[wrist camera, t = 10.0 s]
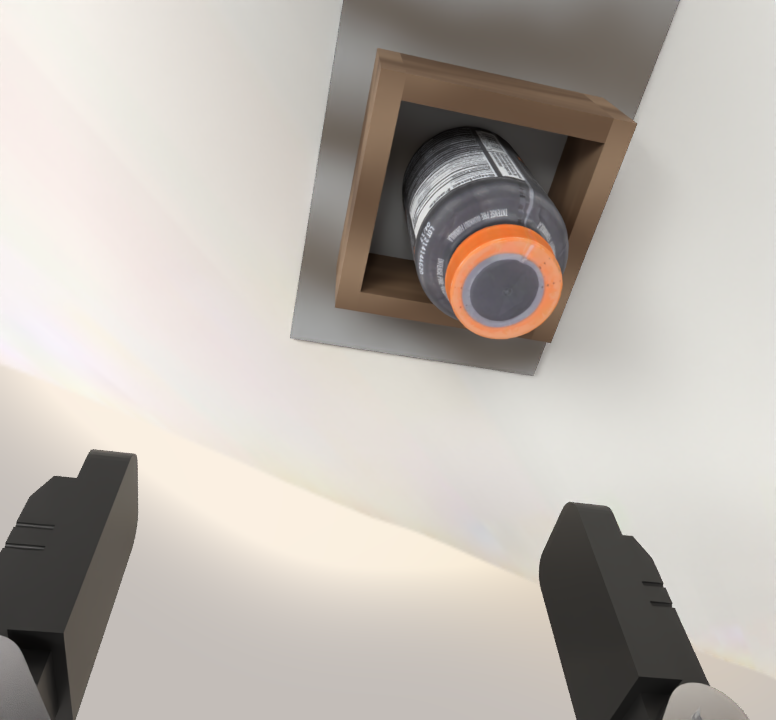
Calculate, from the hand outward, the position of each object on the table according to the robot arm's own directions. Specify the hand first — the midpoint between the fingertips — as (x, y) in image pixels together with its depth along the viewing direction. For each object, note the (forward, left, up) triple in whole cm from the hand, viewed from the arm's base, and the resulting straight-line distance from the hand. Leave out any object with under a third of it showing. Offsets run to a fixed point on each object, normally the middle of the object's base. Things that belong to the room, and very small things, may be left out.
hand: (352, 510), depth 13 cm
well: (+1, +6, -24) cm, 24 cm away
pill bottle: (+1, +6, -23) cm, 24 cm away
